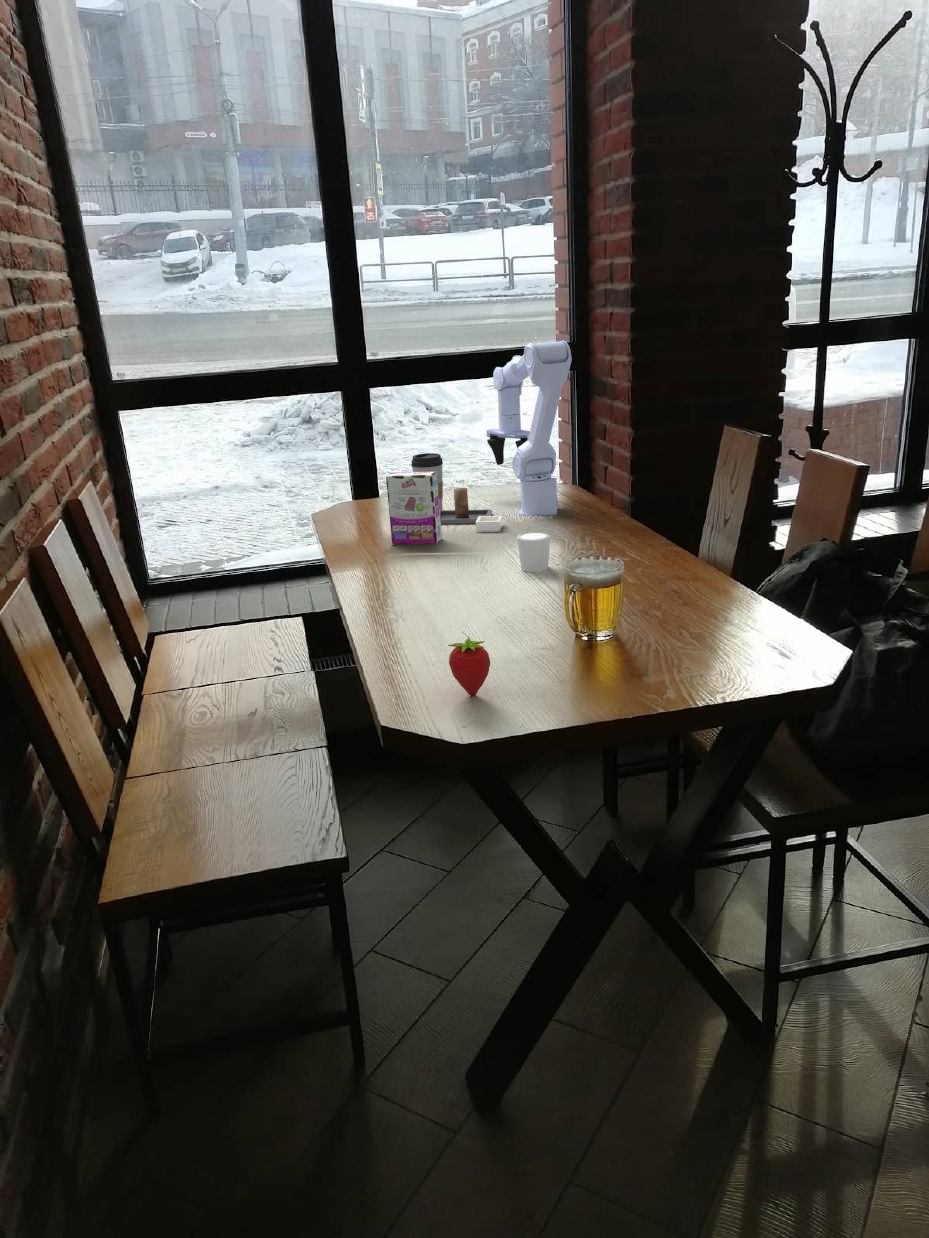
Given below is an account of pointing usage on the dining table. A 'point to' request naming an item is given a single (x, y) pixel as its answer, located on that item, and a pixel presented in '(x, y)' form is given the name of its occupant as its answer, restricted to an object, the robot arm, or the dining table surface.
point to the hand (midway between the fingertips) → (511, 465)
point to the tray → (449, 518)
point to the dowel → (461, 503)
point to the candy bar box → (414, 507)
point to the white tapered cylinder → (534, 551)
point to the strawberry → (469, 665)
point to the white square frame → (489, 524)
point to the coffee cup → (430, 468)
